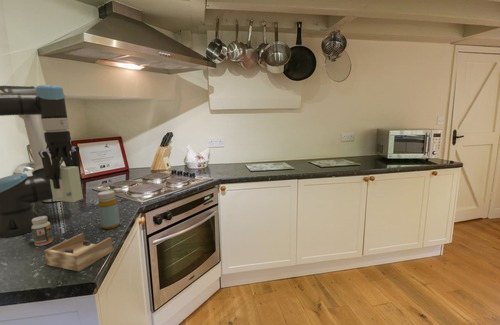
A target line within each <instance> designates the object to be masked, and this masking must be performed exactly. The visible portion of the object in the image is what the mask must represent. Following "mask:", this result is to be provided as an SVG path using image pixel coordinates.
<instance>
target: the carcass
mask: <svg viewBox="0 0 500 325" xmlns="http://www.w3.org/2000/svg"><path fill="white" fill-rule="evenodd" d="M112 238H113V237H110V236H109V237H107V238H105V239H103V240H101V241H99V242H98V243H92V242H91V240H88V239H85V235H84V233H82V232H81V233H79V234H76V235H75V236H73V237H70V238H68V239H66V240H64V241H61V242H59V243H57V244H55V245H52V246H51V247H49V248H46V249H45V250H43V251H44V255H45V256H44V257H45V261H46V265H47V266H51V267H55V268H60V269H64V270H68V271H69V270H70V271H75V272H81V271H83V270H85V269H86V268H88V267H90V266H91V265H93V264H94V263H96V262H99V261H100V260H101V259H102V258H104V257H105V256H108V255H109V254H111V253H113V252H114V247H113V240H112Z"/></svg>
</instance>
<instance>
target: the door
mask: <svg viewBox="0 0 500 325" xmlns="http://www.w3.org/2000/svg"><path fill="white" fill-rule="evenodd" d="M59 179H62V182H63V188H64V194H65V197H57V191H56V189H55V188H54V185H53V180H51V179H50V184H51V190H52V196H53V199H52V200H53V201H61V202H67V203H68V202H69V203H75V202H77V201H80V200H83V199H84V196H83V189H82V182H81V176H80V173H79V168H78V167H73V166H66V165H61V166H60V178H59Z"/></svg>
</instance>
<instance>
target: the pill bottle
mask: <svg viewBox="0 0 500 325" xmlns="http://www.w3.org/2000/svg"><path fill="white" fill-rule="evenodd" d="M48 220H49V219H48V216H47V215H42V216H38V217H36V218H33V219H32V223H33V225H32V227H31V229H32V231H31V234H32V237H33V242H34V245H35V246H37V247H42V246H45V245H49V244H50V243H51V244H52V242H53V241H54V236H53V230H52V225H51V224H52V223H51V222H50V221H48Z"/></svg>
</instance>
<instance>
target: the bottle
mask: <svg viewBox="0 0 500 325" xmlns="http://www.w3.org/2000/svg"><path fill="white" fill-rule="evenodd" d="M97 197H98V211H99V220H100V225H101V228H102V229H103V230H113V229H115V228H118V227H119V225H120V224H121V222H120V221H121V220H120V213H119V206H118V201H117V199H116V192H115V190H111V189H110V190H103V191H100V192H98V193H97Z"/></svg>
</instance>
